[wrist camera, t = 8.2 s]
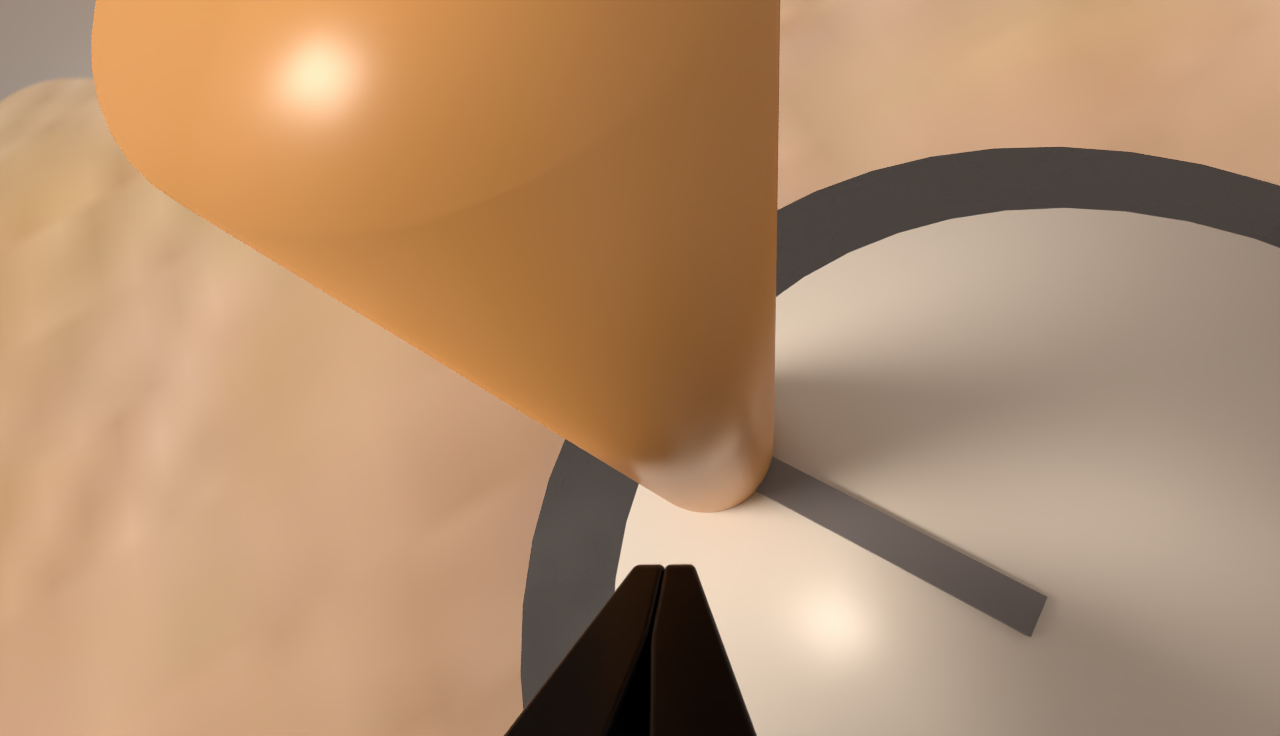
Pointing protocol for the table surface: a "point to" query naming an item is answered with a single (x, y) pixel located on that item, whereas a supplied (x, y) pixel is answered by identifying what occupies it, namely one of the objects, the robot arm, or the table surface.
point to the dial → (771, 351)
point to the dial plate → (819, 234)
